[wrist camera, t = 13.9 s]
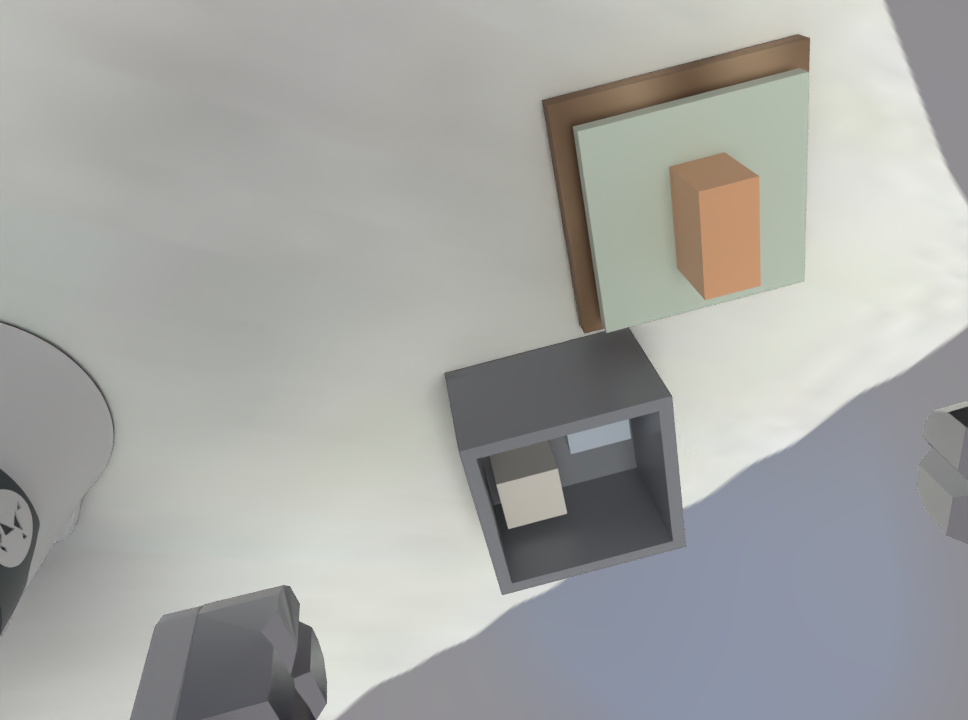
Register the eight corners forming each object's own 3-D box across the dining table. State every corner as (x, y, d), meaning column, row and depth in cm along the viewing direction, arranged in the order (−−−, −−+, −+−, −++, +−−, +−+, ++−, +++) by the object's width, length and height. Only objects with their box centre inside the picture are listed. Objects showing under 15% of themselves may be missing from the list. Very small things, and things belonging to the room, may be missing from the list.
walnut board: (579, 324, 47) (584, 333, 46) (542, 100, 40) (547, 105, 39) (794, 268, 47) (804, 276, 46) (798, 34, 40) (809, 37, 39)
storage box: (484, 508, 54) (502, 595, 47) (444, 373, 48) (458, 451, 41) (645, 465, 54) (686, 546, 47) (627, 325, 48) (671, 395, 41)
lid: (597, 316, 46) (627, 368, 41) (568, 121, 39) (599, 154, 34) (787, 267, 46) (841, 313, 41) (789, 64, 39) (853, 89, 34)
